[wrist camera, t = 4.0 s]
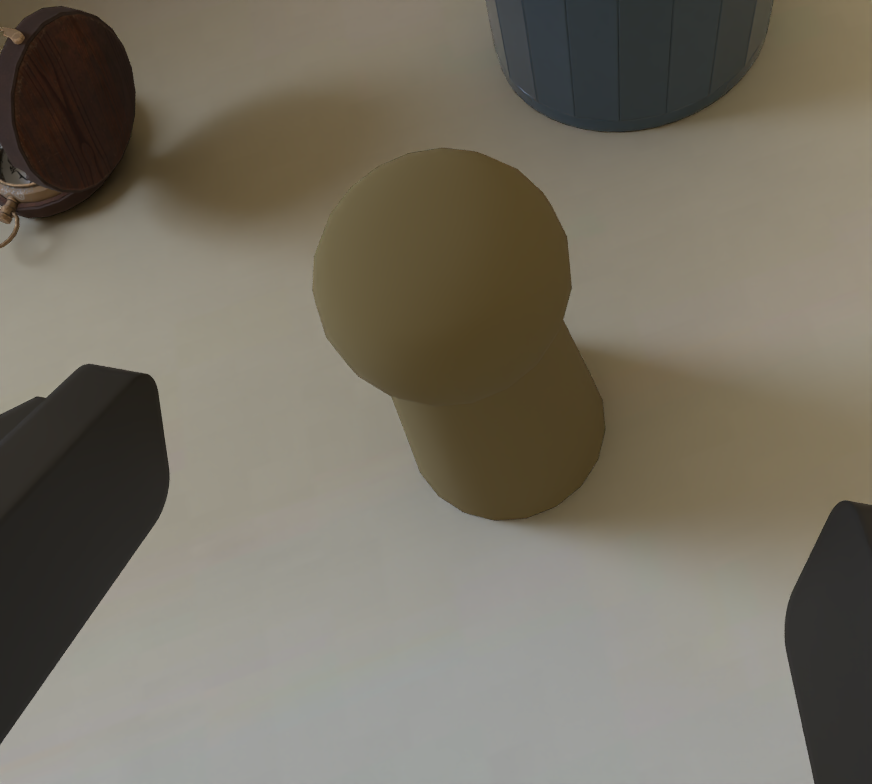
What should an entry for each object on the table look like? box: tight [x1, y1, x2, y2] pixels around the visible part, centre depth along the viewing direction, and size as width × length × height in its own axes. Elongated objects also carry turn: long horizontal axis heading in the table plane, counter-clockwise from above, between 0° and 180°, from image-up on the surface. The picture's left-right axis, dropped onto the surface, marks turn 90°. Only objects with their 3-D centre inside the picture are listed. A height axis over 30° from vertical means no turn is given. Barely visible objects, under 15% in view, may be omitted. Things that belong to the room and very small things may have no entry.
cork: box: [313, 148, 605, 520], centre depth 20 cm, size 6×6×11 cm
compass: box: [0, 6, 135, 248], centre depth 29 cm, size 8×8×7 cm
